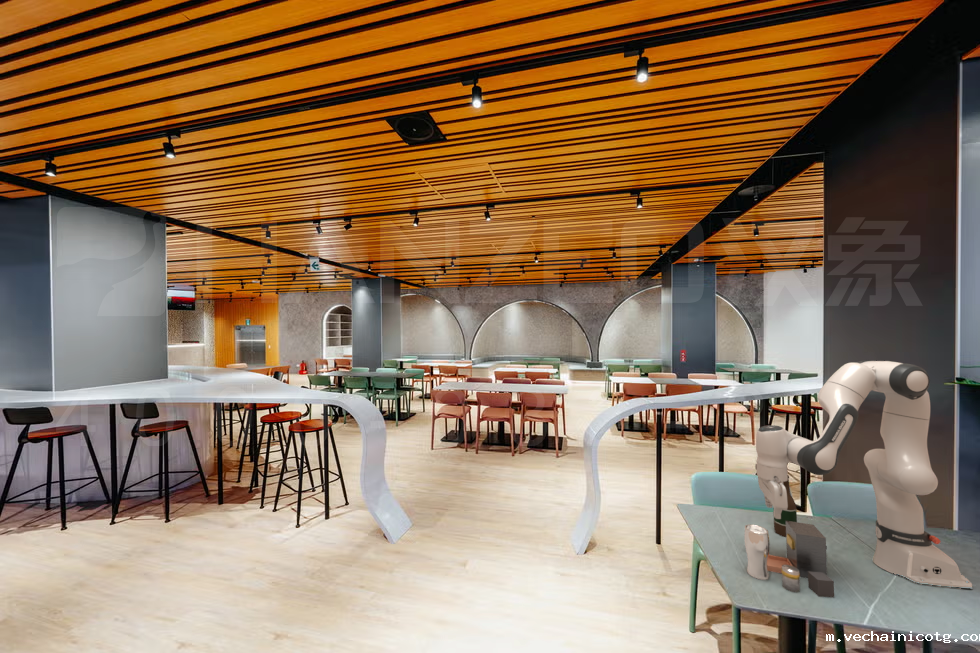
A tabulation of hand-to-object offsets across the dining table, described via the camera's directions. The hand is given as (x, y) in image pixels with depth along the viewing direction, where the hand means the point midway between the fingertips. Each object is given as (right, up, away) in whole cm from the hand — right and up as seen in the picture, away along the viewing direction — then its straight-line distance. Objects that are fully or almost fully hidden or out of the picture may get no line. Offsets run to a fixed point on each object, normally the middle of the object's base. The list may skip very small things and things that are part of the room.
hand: (772, 512), depth 134 cm
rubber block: (+4, -18, -15) cm, 24 cm away
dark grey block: (+8, -18, -4) cm, 20 cm away
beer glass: (-10, -18, -6) cm, 21 cm away
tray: (+1, -18, -2) cm, 18 cm away
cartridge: (-4, -18, -13) cm, 22 cm away
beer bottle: (+21, -19, +21) cm, 35 cm away
